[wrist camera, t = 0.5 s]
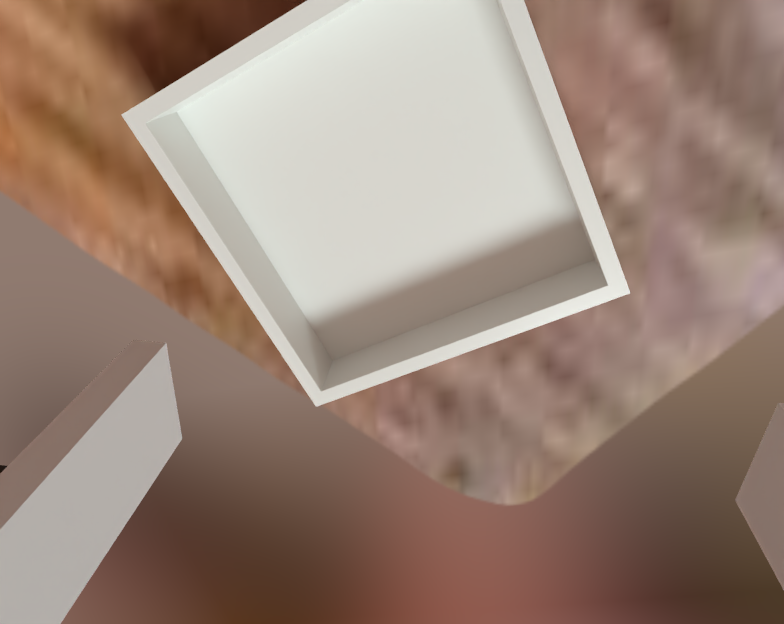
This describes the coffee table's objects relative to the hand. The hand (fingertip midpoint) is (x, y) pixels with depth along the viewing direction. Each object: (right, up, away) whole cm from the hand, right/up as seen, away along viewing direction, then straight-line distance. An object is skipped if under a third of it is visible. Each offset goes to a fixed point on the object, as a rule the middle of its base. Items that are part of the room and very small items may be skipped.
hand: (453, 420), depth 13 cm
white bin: (-1, +11, +25) cm, 27 cm away
